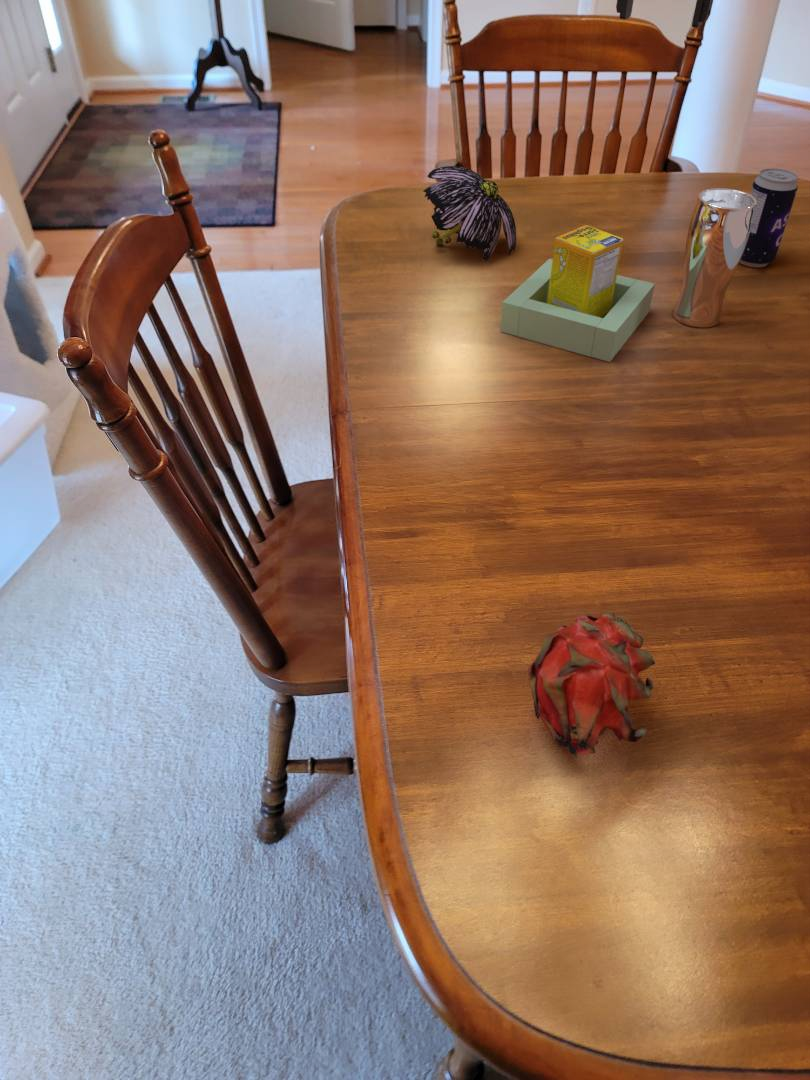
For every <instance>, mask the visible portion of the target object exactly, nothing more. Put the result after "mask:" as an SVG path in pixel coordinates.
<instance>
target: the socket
mask: <svg viewBox="0 0 810 1080" xmlns="http://www.w3.org/2000/svg"><path fill="white" fill-rule="evenodd" d="M552 261H553V258H548V259H547V260H546V261H545V262H544V263H543V264H542V265H540V266H539V268H538V269H536V270H535V272H533V273H532V274H531V275H530V276H529V277H527V279H525V281H524V282H523V283H521V284H520V285H519V286H518V287H516V289H515V290H514V291H513V292H512V293H510V295H508V296H507V297H506V298H505V299H504V300H503V301H502V305H501V315H500V327H499V332H500V333H504V334H508V335H512V336H515V337H518V338H522V339H525V340H529V341H533V342H536V343H539V344H542V345H547V346H551V347H554V348H557V349H560V350H564V351H568V352H571V353H575V354H578V355H582V356H586V357H589V358H592V359H597V360H602V361H604V362H608V363H611V361H612V360H613V359H614V358H615V356H616V355H617V354H618V352H619V351H620V350H621V349H622V347H624V345H625V344H626V342H627V341H628V340H629V338H630V337H631V336H632V335H633V334H634V332H635V331H636V330H637V328H638V327H639V326H640V325H641V323H642V322H643V321H644V319H645V318H646V317H647V316H648V314H649V313H650V310H651V304H652V299H653V295H654V290H655V287H656V283H653V282H649V281H645V280H642V279H641V280H640V279H637V278H632V277H628V276H624V275H620V274H617V278H616V284H615V289H614V295H613V300H612V306H611V310H610V312H609V313H608V314H607V315H606V316H605V317H604V318H600V317H596V316H592V315H589V314H585V313H581V312H577V311H573V310H569V309H566V308H562V307H558V306H554V305H550V304H547V300H548V292H549V283H550V276H551V268H552Z"/></svg>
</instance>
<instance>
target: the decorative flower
mask: <svg viewBox="0 0 810 1080" xmlns="http://www.w3.org/2000/svg"><path fill="white" fill-rule="evenodd" d="M427 178H428V179H432V180H440V181H437V182H435V183H433V184H431V185H430V186H428V187H426V188H425V189H424V190H422V193H423V192H424V193H425V194H424V198H426V197H427V201H430V202H431V204H433V206H434V208H433V214H432V215H430V216H431V219H432V221H433V223H434V226H435V227H436V230H434V231H432V234H431V236H432V239H434V240H435V242H436V243H435V244H436V245H437V246H442V245H443V244H444V243H445V244H447V245H449V244H451V243H452V240H453V239H452V235H454V234H457V236H456V239H455V242H456V243H462V244H464V246H465V248H466V249H468V248H469V247H470V248H471V249H472V250H474V249H476V250H479V251H480V250H481V252H482V257H481V260H483V261H485V262H488V260H489V259H490V258H491V256H492V255H493V253H494V252H495V249H496V247H497V245H498V242H499V239H500V236H501V229H502V230H503V234H504V237H505V239H506V241H507V242H506V243H507V249H508V255H509V256H511V254H512V252H513V251H514V252H515V250H516V246H517V227H516V221H515V217H514V215H513V212H512V210H511V208H510V205H508V203H507V201H505V199H504V198H503V197H502V196H501V195H500V194H499V187H498V185H497V183H496V182H495V181H491V180H489V179H485V178H484V177H483V176H482V175H480V174H479V173H478V172H476V171H474V170H472V169H470V168H467V167H463V166H456V165H449V166H448V165H447V166H441V167H440V166H439V167H438V168H434V169H432V170H431V171H429V173H428V174H427ZM437 230H438V231H441V232H442V231H443V232H442V233H441V234H440V233H439V232H438V231H437Z"/></svg>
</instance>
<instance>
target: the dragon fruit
mask: <svg viewBox="0 0 810 1080" xmlns="http://www.w3.org/2000/svg"><path fill="white" fill-rule="evenodd" d="M643 644H644V638H643V637H642V635H640V634H639V633H637V632H636V631H635V630H634V628H633V627H632V626H631V625H630V624H628V623H627V622H626V621H625V620H624V619H623V617H622V616H620V615H617V618H616V615H615V613H613V612H606V613H602V614H601V615H599V616H597V617H596V616H592V615H589V614H581V615H578V616H576V617H575V619H574V623H573V624H572V625H568V626H566V625H560V626H559V627H558V628H557V630H556V632H551V633H548V634H546V635H545V636H544V637H543V639H542V645H541V648H540V650H539V653H538V655H537V656H536V658H535V660H534V661H533V662H532V663H531V664H530V665H529V667H528V669H527V677H528V681H529V686H530V690H531V697H532V700H533V708H534V715H535V718H536V719H537V720H540V719H541V722H542V723H543V725H544V726H545V728H546V729H547V730H548V732H549V733H551V736H552V737H553V739H554V743H556V744H557V745H558V746H559V747H562V746H563V747H565V748H567V749H568V752H569V753H570V754H571V755H573V756H574V758H577V757H579V756H584V755H585V756H586V755H591V754H596V750H595V747H596V745H598V743H599V739H600V737H599V735H600V732H601V731H602V730H603V729H604V728H606V727H607V728H608V729H609V730H611V731H612V732H613V733H614V735H615V736H616V738H617V739H618V740H619V741H622V740H624V741H627V742H631V743H637V742H639V741H640V740H641V739H644V737H645V736H646V734H647V733H648V731H649V730H648V728H644V727H642V728H641V727H640V728H637V729H635V728H633V727H632V726H633V722H634V721H633V718H632V716H630V714H629V704H630V703H629V701H630V700H645V699H650V698H651V697H652V695H653V693H652V690H653V689H654V684H653V681H652V680H651V679H650V678H649V677H646V679H645V682H644V680H643V679H642V678H641V676H640V673H641V672H643V671H645V670H647V669H649V668H650V667H652V666H653V665H656V660H655V659H654V657H653V655H652V654H651V653H650V652H649V651H648V650H646V649H643V648H642V647H643Z"/></svg>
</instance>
